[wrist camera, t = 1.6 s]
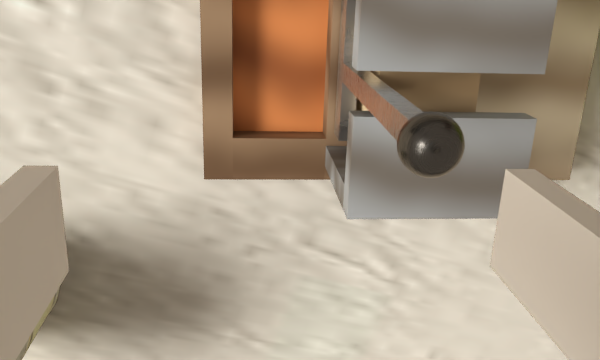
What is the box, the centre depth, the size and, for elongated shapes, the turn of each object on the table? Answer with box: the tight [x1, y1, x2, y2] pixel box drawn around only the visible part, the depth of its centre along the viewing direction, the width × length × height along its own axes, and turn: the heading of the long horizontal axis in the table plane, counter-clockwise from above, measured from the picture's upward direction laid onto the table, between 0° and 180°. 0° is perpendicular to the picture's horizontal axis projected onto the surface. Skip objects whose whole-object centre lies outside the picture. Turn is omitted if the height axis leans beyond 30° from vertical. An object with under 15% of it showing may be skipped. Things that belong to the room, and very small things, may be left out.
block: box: [356, 71, 481, 112], centre depth 36 cm, size 6×6×6 cm
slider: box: [334, 0, 465, 178], centre depth 29 cm, size 9×10×20 cm
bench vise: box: [200, 0, 600, 219], centre depth 36 cm, size 16×27×12 cm, turn 88°
